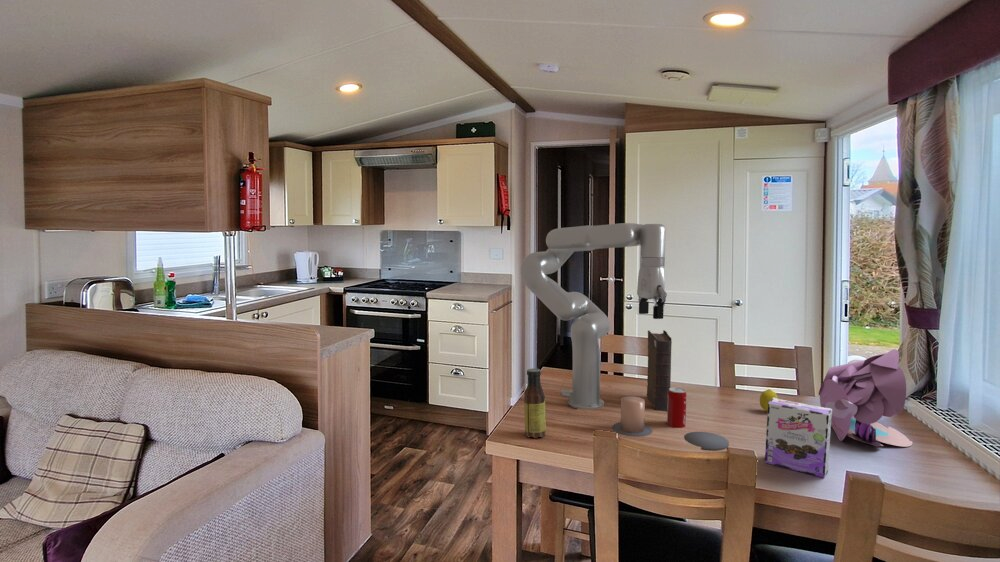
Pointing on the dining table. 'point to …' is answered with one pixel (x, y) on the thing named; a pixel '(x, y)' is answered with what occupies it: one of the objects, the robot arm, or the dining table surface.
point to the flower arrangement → (866, 399)
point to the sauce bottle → (534, 405)
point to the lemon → (767, 398)
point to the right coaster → (707, 440)
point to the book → (659, 369)
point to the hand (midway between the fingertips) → (650, 316)
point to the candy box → (798, 436)
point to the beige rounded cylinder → (632, 414)
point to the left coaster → (646, 432)
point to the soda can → (676, 407)
